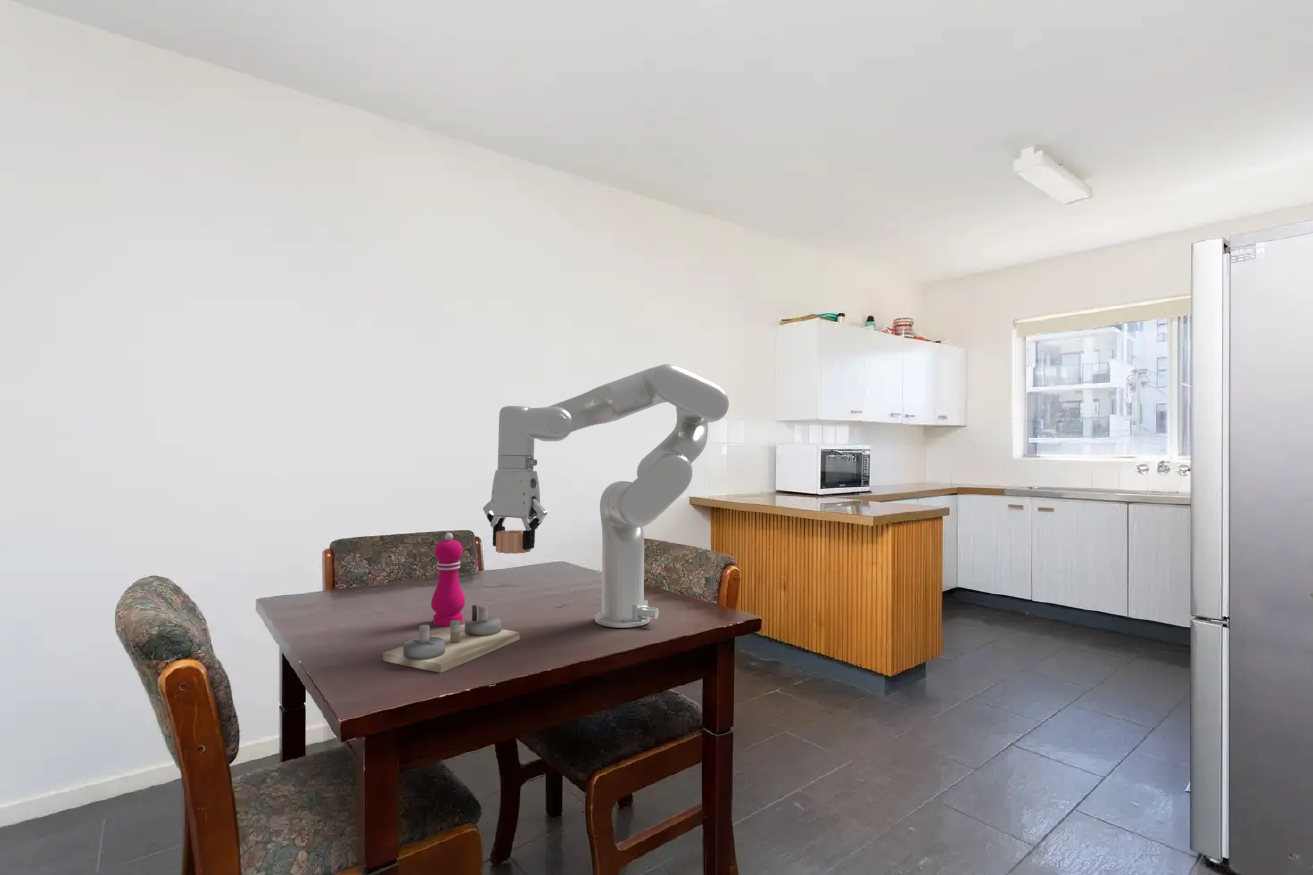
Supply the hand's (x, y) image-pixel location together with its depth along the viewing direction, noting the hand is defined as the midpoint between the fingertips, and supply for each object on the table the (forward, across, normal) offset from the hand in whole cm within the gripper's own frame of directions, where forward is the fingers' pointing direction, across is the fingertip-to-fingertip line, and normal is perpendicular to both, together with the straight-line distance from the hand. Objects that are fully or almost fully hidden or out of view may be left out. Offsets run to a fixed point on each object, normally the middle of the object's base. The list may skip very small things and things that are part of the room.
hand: (513, 546), depth 139 cm
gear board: (+18, +2, +14) cm, 23 cm away
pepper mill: (+19, +17, +1) cm, 25 cm away
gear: (+1, 0, 0) cm, 1 cm away
